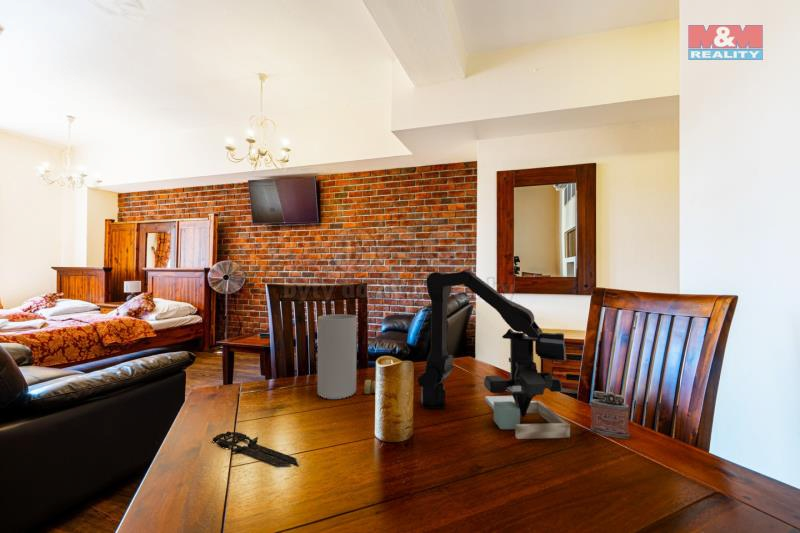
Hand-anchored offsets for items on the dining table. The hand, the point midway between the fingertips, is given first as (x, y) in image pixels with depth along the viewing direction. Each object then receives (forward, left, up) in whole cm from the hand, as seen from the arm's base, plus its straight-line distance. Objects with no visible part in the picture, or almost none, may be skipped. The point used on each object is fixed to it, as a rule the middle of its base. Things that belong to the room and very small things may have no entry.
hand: (522, 416), depth 86 cm
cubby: (+2, 0, -2) cm, 3 cm away
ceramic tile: (0, +13, -2) cm, 13 cm away
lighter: (+19, -6, -2) cm, 20 cm away
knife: (-65, -9, -3) cm, 65 cm away
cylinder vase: (-51, +25, -2) cm, 57 cm away
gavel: (-36, +33, -3) cm, 49 cm away
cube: (-4, 0, -2) cm, 5 cm away
